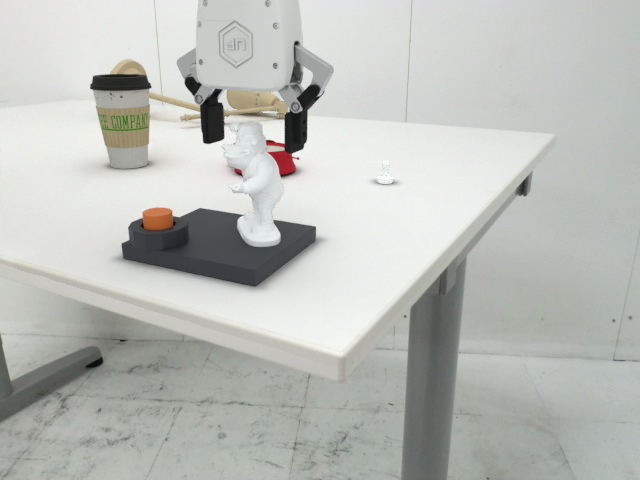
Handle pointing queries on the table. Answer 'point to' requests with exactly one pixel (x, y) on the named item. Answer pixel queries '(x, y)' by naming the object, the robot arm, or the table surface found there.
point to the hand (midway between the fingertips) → (253, 146)
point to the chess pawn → (385, 174)
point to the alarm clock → (279, 157)
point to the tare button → (157, 218)
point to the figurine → (255, 183)
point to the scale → (215, 246)
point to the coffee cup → (124, 117)
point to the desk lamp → (235, 98)
